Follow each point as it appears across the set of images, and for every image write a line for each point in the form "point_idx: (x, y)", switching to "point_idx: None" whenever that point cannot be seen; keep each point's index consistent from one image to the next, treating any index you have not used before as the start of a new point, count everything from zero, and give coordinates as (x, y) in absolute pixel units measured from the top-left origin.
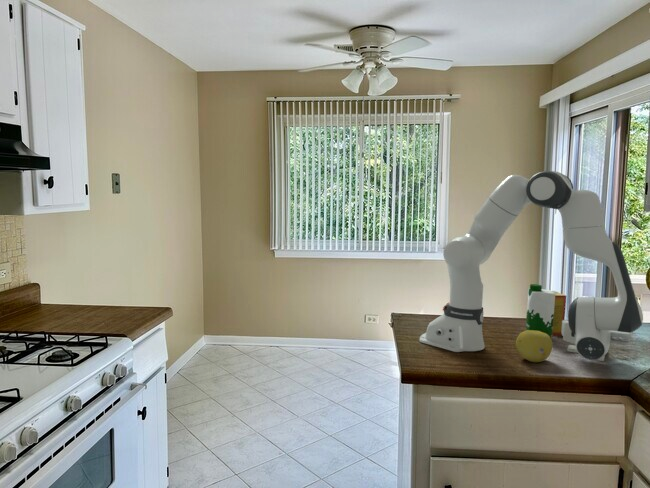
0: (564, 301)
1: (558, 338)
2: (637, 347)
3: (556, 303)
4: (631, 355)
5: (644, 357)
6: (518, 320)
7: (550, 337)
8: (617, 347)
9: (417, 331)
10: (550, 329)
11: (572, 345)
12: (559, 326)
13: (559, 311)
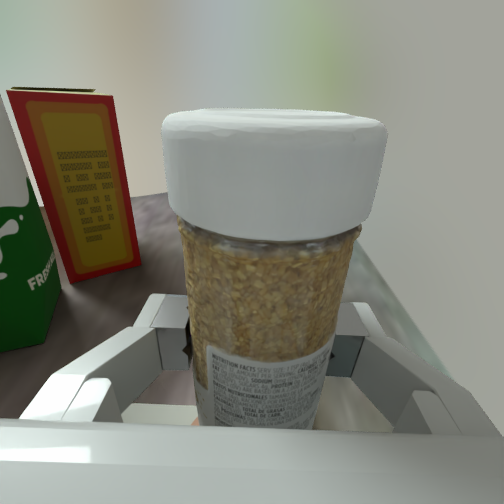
0: (110, 127)
1: (104, 301)
2: (363, 275)
3: (69, 139)
4: None
5: (446, 369)
6: (41, 213)
7: (34, 333)
8: None
9: None
10: (17, 296)
11: None
12: (116, 239)
13: (98, 178)
